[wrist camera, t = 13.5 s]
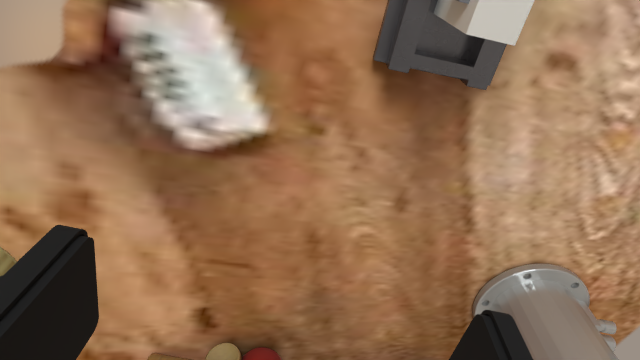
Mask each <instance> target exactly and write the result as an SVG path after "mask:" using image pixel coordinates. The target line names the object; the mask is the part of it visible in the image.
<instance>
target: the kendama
mask: <svg viewBox="0 0 640 360" xmlns="http://www.w3.org/2000/svg"><path fill="white" fill-rule="evenodd" d="M242 356H243V357H242ZM147 360H192V359H185V358H179V357H173V356H167V355H162V354H157V353H153V354H151V355H150V356H149V357H148V359H147ZM205 360H282V358H281V357H280V356H279V355H278V354H277V353H276V352H275V351H274V350H272V349H269V348H265V347H259V348H255V349H252V350H250V351H249V352H247V353H246V354H244V355H241V353H240V351H239V349H238V348H237V347H236V346H235V345H234V344H231V343H221V344H219V345H216V346H215V347H213V348H212V349H211V350H210V351H209V353H208V354H207V356H206V359H205Z"/></svg>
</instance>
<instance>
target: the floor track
mask: <svg viewBox="0 0 640 360" xmlns="http://www.w3.org/2000/svg"><path fill="white" fill-rule="evenodd" d="M437 2H438V0H388V3H387V6H386V10H385V14H384V18H383V21H382V25H381V29H380V33H379V36H378V40H377V44H376V48H375V52H374V55H373V59H374V60H375V61H380V62H384V63H386V65H387V67H388V69H391V70H396V71H400V72H405V73H408V72H409V69H410V68H412V69H416V70H421V71H426V72H430V73H435V74H439V75H444V76H448V77H453V78H457V79H460V80H461V81H462V82H463V83H464V84H465V85H466V86H469V87H474V88H478V89H483V90H486V89H487V86H488V85H490V83H491V81H492V78H493V76H494V74H495V71H496V69H497V66H498V64H499V62H500V59H501V57H502V55H503V52H504V50H505V47H506V45H507V44H505V43H501V42H497V41H493V40H488V39H484V38H480V37H476V36H471V35H467V34H465V33H463V32H462V31H460V30H459V29H457V28H455V27H454V26H452V25H451V24H449V23H448V22H446V21H444V20H443V19H441V18H440V17H438V16H437V15H435V14H434V11H435V8H436V5H437Z"/></svg>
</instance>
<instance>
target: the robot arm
mask: <svg viewBox="0 0 640 360" xmlns="http://www.w3.org/2000/svg"><path fill="white" fill-rule="evenodd" d="M589 304H590V296H589V293H588V289H587V288H586V286H585V285H584V283H583V282H582V280H581V279H580V278H579V277H578V276H577V275H576V274H575V273H573V272H572V271H570V270H569V269H566V268H563V267H561V266H557V265H552V264H530V265H524V266H520V267H516V268H513V269H510V270H508V271H505V272H503V273H501V274H500V275H498V276H496V277H494V278H493V279H492V280H490V281H489V282H488V283H487V284H486V285H485V286H484V287H483V288H482V289H481V290H480V291H479V293H478V295H477V296H476V298H475V301H474V304H473V312H472V313H473V317H474V318H473V320H472V322H471V323H470V325H469V327H468V328H467V330H466V332H465V333H464V335H463V337H462V338H461V340H460V342H459V344H458V345H457V347H456V349H455V350H454V352H453V354H452V355H451V357H450V359H449V360H618V358H617V357H616V355H615V354H614V353H613V352H614V351H615V348H616V342H615V340H614V338H613V337H611V336H609V335H603V334H600V332H604V333H609V334H614V333H615V332H616V325H615V323H614V322H613V321H607V320H601V319H600V320H598V319H596V318H595V316H594V315H593V314H592V312H591V311H590V309H589V308H588V307H589ZM98 319H99V312H98V296H97V281H96V265H95V249H94V240H93V238H90V237H88V235H87V232H86V230H83V229H78V228H73V227H68V226H63V225H57V226H55V227H53V228H52V229H51V230H50V231H49V232H48V233H47V234H46V235H45V236H44V237H43V238H42V239H41V240H40V241H39V242H38V243H36V244H35V245H34V246H33V247H32V248H31V249H30V250H29V251H28V252H27V253H26V254H25V255H24V256H23V257H22V258H21V259H20V260H19V261H18V262H17V263H16V264H15V265H14V266H12V267H11V268H10V269H9V270H8V271H7V272H6V273H5V274H4V275H2V276H0V360H76V359H77V357H78V356H79V354H80V353H81V351H82V349H83V348H84V346H85V345H86V343H87V342H88V340H89V339H90V337H91V336H92V334H93V332H94V331H95V328H96V326H97V323H98ZM599 331H600V332H599Z"/></svg>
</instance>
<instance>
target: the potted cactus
mask: <svg viewBox="0 0 640 360" xmlns="http://www.w3.org/2000/svg"><path fill="white" fill-rule="evenodd" d="M16 263H17V261H16V260H15V259H14V258H13V257H12V256H11V255H10V254H9V253H7V252H6V251H5V250H3V249H2V248H1V247H0V276H2V275H4V274H5V273H6V272H7V271H8V270H9V269H10V268H11V267H12V266H14V265H15V264H16Z"/></svg>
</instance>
